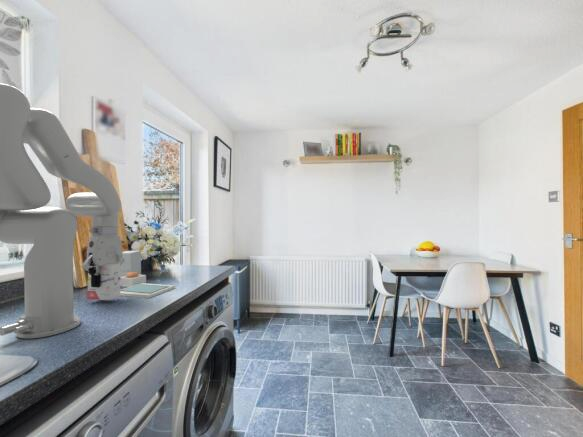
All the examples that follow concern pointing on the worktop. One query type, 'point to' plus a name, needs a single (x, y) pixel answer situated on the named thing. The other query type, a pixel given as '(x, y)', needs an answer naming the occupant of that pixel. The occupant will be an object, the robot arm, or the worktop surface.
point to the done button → (132, 274)
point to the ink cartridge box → (106, 282)
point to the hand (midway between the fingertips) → (104, 284)
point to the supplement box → (131, 262)
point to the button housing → (132, 280)
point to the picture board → (145, 290)
